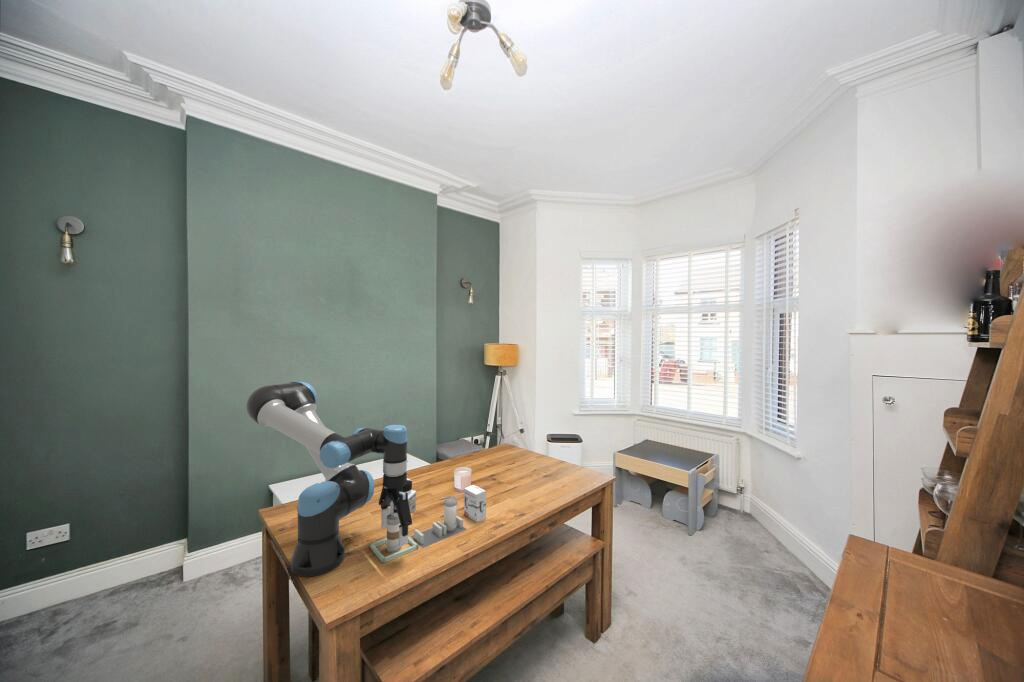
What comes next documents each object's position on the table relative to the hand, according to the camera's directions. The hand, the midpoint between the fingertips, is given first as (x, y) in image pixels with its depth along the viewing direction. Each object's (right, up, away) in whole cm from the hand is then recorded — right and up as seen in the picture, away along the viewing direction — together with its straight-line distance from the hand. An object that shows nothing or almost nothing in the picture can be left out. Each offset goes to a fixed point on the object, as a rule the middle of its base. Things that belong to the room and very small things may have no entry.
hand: (394, 535), depth 123 cm
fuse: (+16, -4, +13) cm, 21 cm away
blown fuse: (0, -4, 0) cm, 4 cm away
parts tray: (0, -5, 0) cm, 5 cm away
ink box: (+25, -6, +23) cm, 34 cm away
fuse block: (+13, -5, +10) cm, 17 cm away
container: (-5, -5, +27) cm, 28 cm away
